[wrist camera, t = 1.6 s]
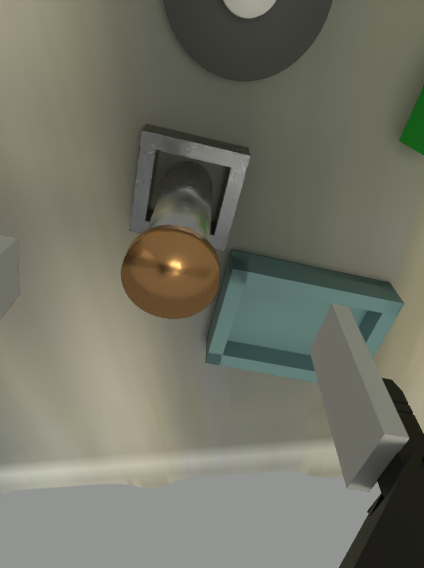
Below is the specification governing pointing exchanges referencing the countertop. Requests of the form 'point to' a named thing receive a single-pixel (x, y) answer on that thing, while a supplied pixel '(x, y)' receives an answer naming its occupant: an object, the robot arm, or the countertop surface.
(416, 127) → the mechanical part
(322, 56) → the countertop surface
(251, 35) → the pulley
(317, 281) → the tray
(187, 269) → the pin
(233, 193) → the grey metal square frame
